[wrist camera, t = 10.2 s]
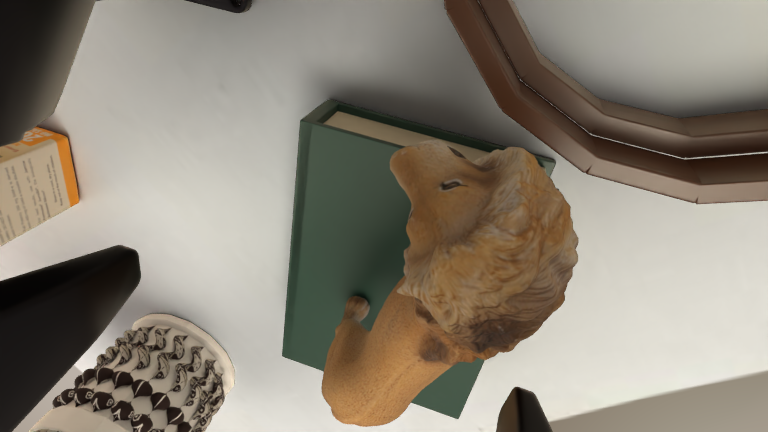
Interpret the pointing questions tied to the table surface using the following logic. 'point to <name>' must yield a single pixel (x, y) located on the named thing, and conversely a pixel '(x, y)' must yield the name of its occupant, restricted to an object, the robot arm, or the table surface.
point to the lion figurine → (454, 278)
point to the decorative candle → (147, 383)
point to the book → (359, 232)
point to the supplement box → (35, 182)
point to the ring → (612, 119)
